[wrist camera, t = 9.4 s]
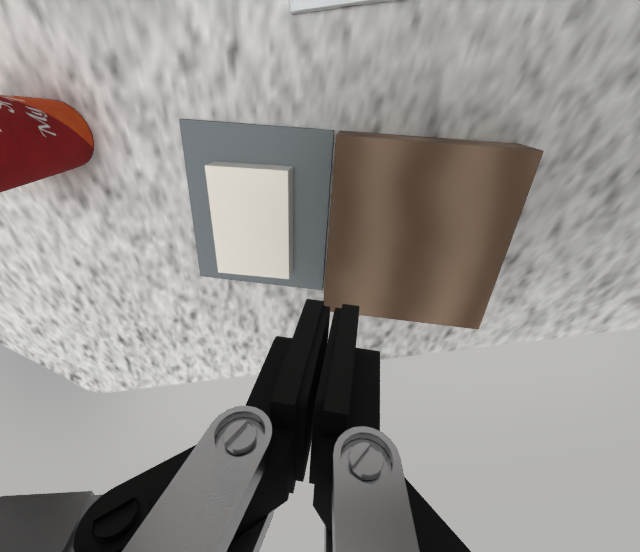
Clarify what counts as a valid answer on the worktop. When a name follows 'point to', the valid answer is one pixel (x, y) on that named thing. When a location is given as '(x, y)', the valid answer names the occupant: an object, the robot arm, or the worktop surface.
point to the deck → (422, 224)
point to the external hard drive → (325, 4)
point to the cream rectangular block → (252, 218)
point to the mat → (268, 149)
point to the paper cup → (40, 140)
